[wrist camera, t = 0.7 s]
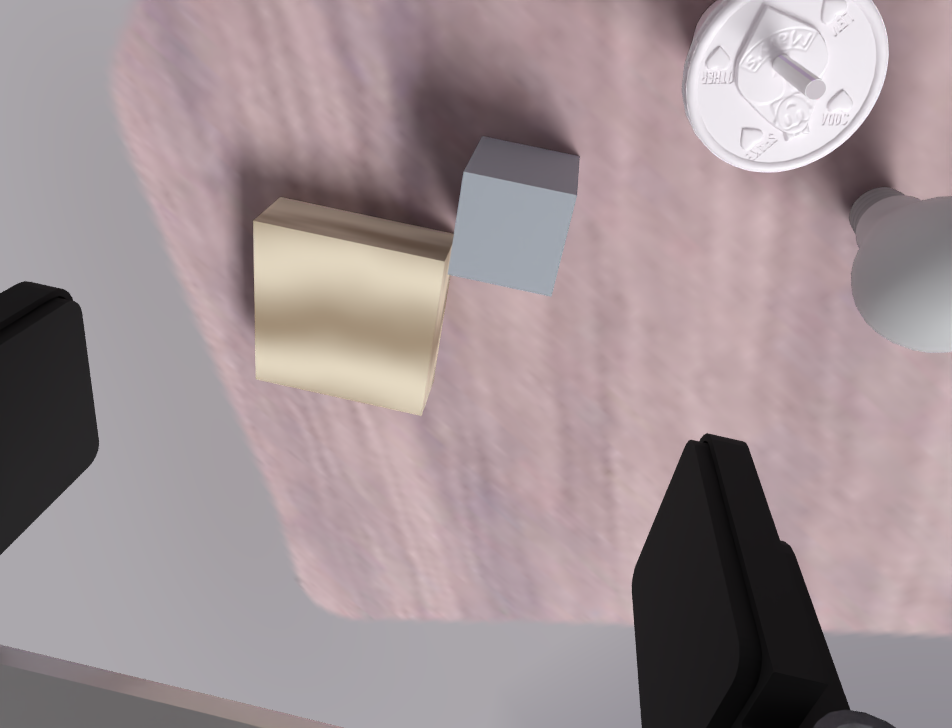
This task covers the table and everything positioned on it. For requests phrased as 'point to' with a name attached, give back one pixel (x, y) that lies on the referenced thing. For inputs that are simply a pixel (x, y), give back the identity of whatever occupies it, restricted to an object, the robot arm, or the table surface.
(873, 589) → the table surface
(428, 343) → the maple block
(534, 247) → the grey block
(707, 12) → the smoothie
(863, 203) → the lightbulb
